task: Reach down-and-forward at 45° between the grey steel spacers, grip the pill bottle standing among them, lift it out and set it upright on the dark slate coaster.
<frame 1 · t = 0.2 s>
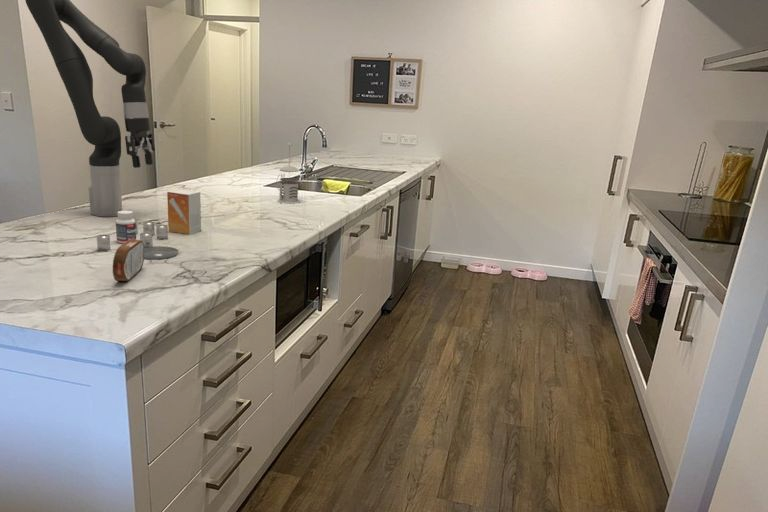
hand: (143, 166, 188), 18 cm above the counter, tool pointing down, fingers open, 8 cm apart
coaster: (157, 253, 154), on the counter
spacer 1: (132, 233, 172), on the counter
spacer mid: (149, 235, 172), on the counter
tin: (130, 276, 136), on the counter
spacer 2: (146, 247, 160), on the counter
french press: (287, 202, 236), on the counter
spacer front: (162, 238, 169), on the counter
spacer near: (104, 250, 154), on the counter
pill bottle: (126, 242, 164), on the counter
small box: (185, 231, 179), on the counter
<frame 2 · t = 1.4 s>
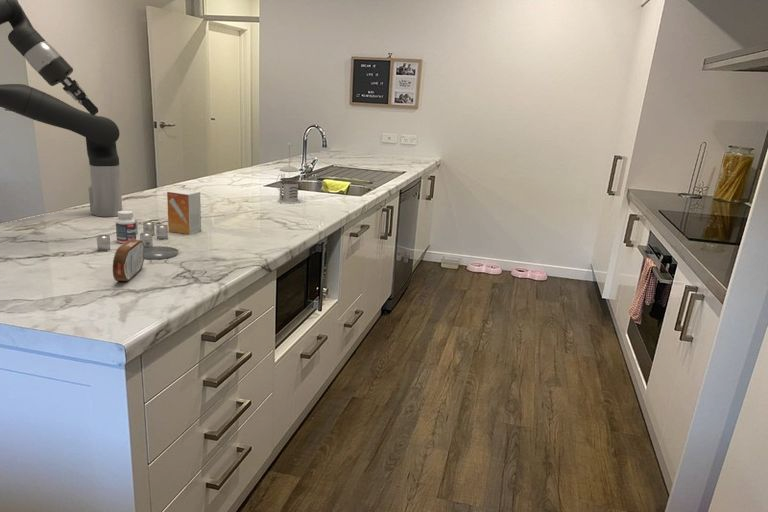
hand: (95, 112, 156), 36 cm above the counter, tool tilted 40°, fingers open, 8 cm apart
nothing on the counter moved.
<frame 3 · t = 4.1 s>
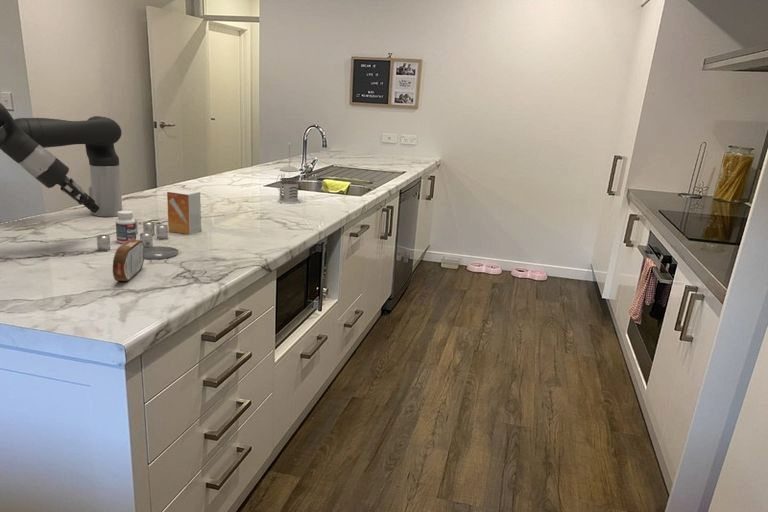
hand: (95, 207, 156), 11 cm above the counter, tool tilted 45°, fingers open, 8 cm apart
nothing on the counter moved.
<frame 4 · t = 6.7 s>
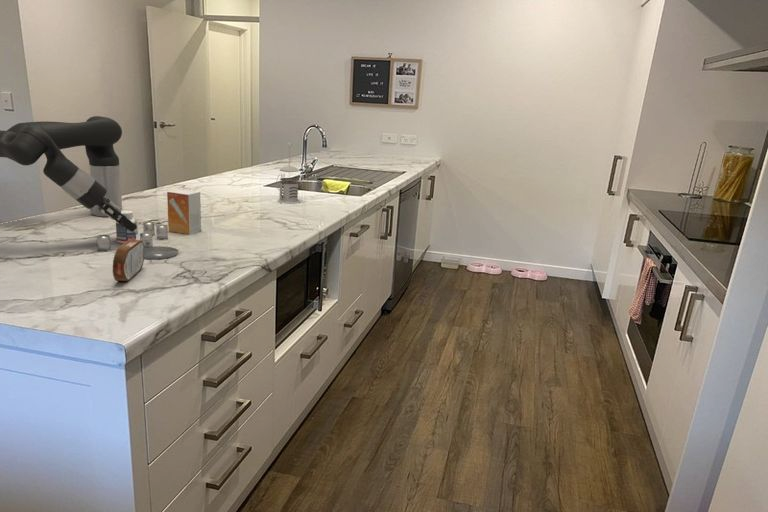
hand: (132, 226, 164), 4 cm above the counter, tool tilted 45°, fingers closed on pill bottle, 5 cm apart
pill bottle: (126, 242, 164), on the counter, touching gripper
everything else where it was.
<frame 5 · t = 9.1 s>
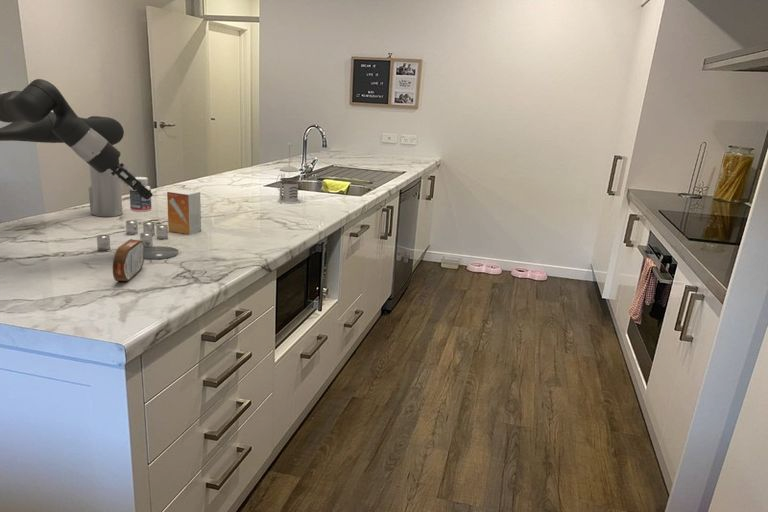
hand: (147, 194, 151), 16 cm above the counter, tool tilted 45°, fingers closed on pill bottle, 5 cm apart
pill bottle: (141, 211, 151), point 12 cm above the counter, touching gripper
everything else where it was.
when the fingers open (6 cm above the counter, at t = 11.8 s): pill bottle stays where it is, resting on coaster.
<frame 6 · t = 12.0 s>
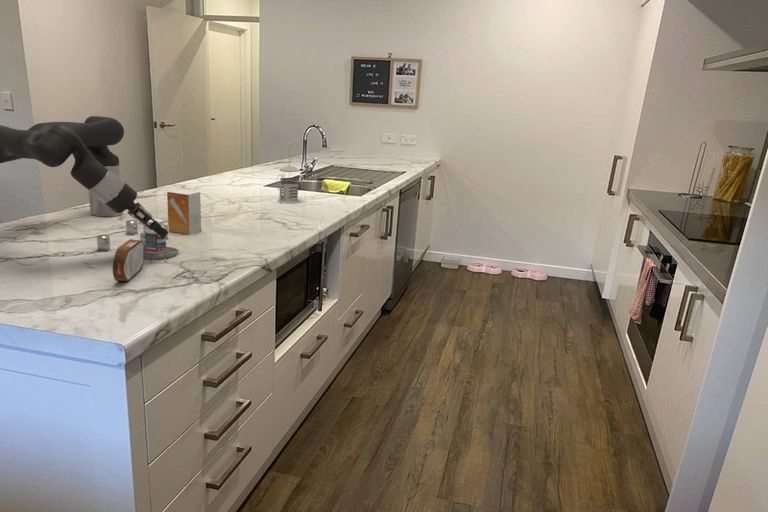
hand: (162, 231, 153), 6 cm above the counter, tool tilted 45°, fingers open, 6 cm apart
pill bottle: (156, 252, 154), resting on coaster
everything else where it was.
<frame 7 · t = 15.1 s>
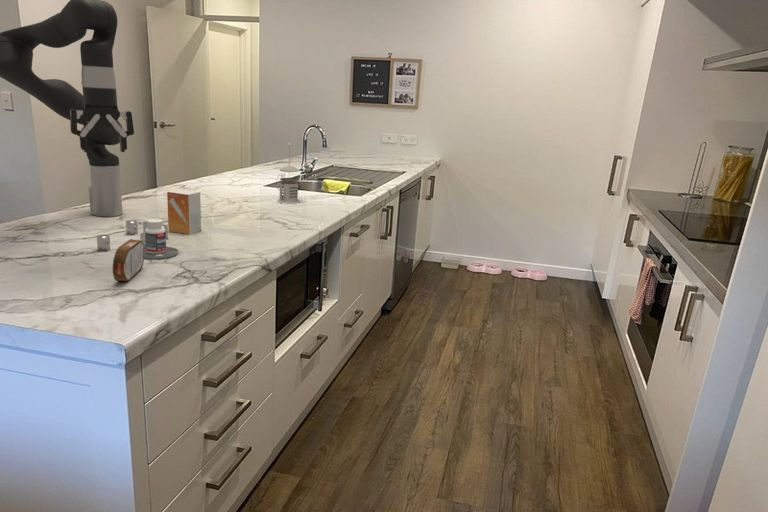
hand: (104, 151, 142), 28 cm above the counter, tool pointing down, fingers open, 8 cm apart
nothing on the counter moved.
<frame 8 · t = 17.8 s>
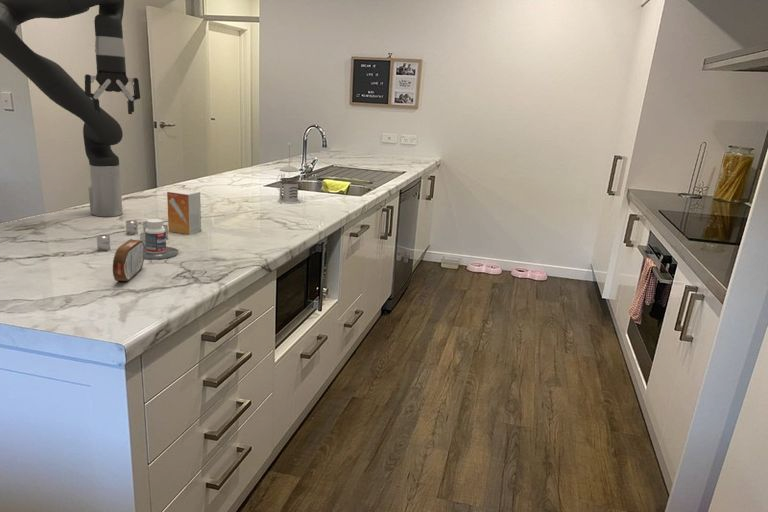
hand: (114, 113, 162), 36 cm above the counter, tool pointing down, fingers open, 8 cm apart
nothing on the counter moved.
at the end: pill bottle 0.2 cm from the coaster (horizontally); pill bottle tilted 0°; pill bottle resting on coaster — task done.
